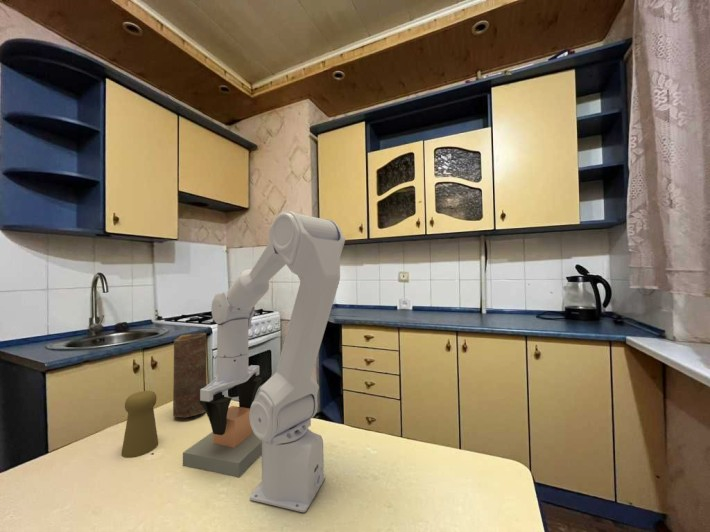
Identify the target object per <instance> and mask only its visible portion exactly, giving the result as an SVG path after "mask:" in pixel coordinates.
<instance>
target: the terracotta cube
mask: <svg viewBox="0 0 710 532" xmlns="http://www.w3.org/2000/svg"><path fill="white" fill-rule="evenodd" d="M249 413H250V408H243V407H239V406H236V405H230V406H229V407H228V412H227V419H226V430H225V433H224V434H223V435H217V434H213V443H214V444H219V445H224V446H228V447H233V448H235V447H236V446H237V445H239V444H240V443H241V442H242V441H244V440H245V439H246V438H248V437H249V436H250V435H251V434H252V428H251V425H250V419H249Z"/></svg>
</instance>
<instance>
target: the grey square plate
mask: <svg viewBox="0 0 710 532" xmlns="http://www.w3.org/2000/svg"><path fill="white" fill-rule="evenodd" d="M260 457H262V440H260V439H259V438H258V437H257V436H256V435H255V434H254V432H253V430H252V434H251V435H250V436H249V437H248V438H246V439H245V440H244V441H242V442H241V443H240V444H239V445H237V446H236V447H235V448H233V447H228V446H224V445H219V444H214V443H213V431H212V432H210V433H208V434H207V435H206V436H205V437H203V438H201V439H200V440H199V441H197V442H196V443H195V444H193V445H192V446H190V447H189V448H187V449H186V450H184V451H183V452H182V467H186V468H190V469H195V470H200V471H205V472H210V473H214V474H220V475H224V476H228V477H233V478H239V479H240V477H241V476H242V475H243V474H244V473H245V472H246V471H247V470H248V469H249V468H250V467H251V466H252V465H253V464H254V463H255V462H256V461H257V460H258V459H259V458H260Z"/></svg>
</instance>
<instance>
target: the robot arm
mask: <svg viewBox="0 0 710 532" xmlns="http://www.w3.org/2000/svg"><path fill="white" fill-rule="evenodd" d="M268 242H269V243H268V244H267V246H266V247H265V249H264V250H263V252H262V253H261V255H260V256H259V258H258V260H257V261H256V263H255V265H253V267H252V269H249V268H248V269H244V270H242V272H240V274H239V276H238V277H237V278H236V279H235V281H234V282H233V283H232V285H231V286H230V287H229V288H228V290H227V291H224V292H221V293H220V292H219V293H216V294H215V295H214V297H213V299H212V302H211V306H210V307H211V316H212V320H213V321H214V322H215V323H216V324H217V326H216V327H217V331H216V332H217V333H216V334H217V335H216V337H217V339H216V340H217V348H216V349H217V351H216V352H217V353H216V354H217V361H216V362H217V363H216V364H217V365H216V366H217V367H216V368H217V370H216V372H217V374H214V375H213V380H212V381H211V382H209V383H208V384H207V386H206V387H204V388H202V389H200V397H199V403H200V404H201V405H202V407H203V408H204V410H205V413H206V415H207V417H208V420H209V423H210V426H211V429H212V432H213V434H217V435H223V434H224V433H225V430H226V419H227V412H228V408H229V407H230V403H231V402H232V397H228V396H225V394H224V392H226V391H228V390H230V389H232V388H234V387H235V388H236V391H237V396H238V407H243V408H250V413H249V419H250V425H251V428H252V430H253V432H254V434H255V435H256V436H257V437H258V438H259V439H260V440H262V455H261V483H259V485H258V486H257V487H256V488H255V489H254V490H253V492H252V493H251V494H250V495H249V499H250V500H251V501H253V502H258V503H262V504H266V505H271V506H275V507H279V508H282V509H288V510H292V511H296V512H301V513H305V512H307V511H308V508H309V507H310V505H311V503H312V502H313V500H314V499H315V497H316V494H317V493H318V491H319V489H320V488H321V486H322V484H323V482H324V480H325V479H326V473H324V470H325V469H324V466H325V465H324V461H325V460H324V459H325V458H324V440H323V437H322V436H321V434H318V433H315V432H313V431H312V430H310V429H309V428H310V427H311V425H312V424H311V423H312V422H311V421H312V420H311V419H313V418H314V417H315V416H316V414H317V411H318V405H319V404H318V393H319V389H320V386H319V384H318V383H317V381H316V379H314V377H313V376H312V375H313V372H314V367H315V364H316V361H317V358H318V355H319V351H320V348H321V345H322V341H323V338H324V334H325V331H326V328H327V324H328V321H329V317H330V315H331V311H332V308H333V304H334V301H335V297H336V294H337V291H338V288H339V284H340V280H341V256H342V252H343V249H344V245H345V242H346V238H345V236H344V234H343V232H342V231H341V228H340V225H339V224H338V223H337V222H336V221H334V220H332V219H329V218H320V217H315V216H312V215H305V214H300V213H296V212H294V211H292V210H284V211H282V212H281V211H280V212H279V214H277V216H276V218H275V219H274V221H273V223H272V225H270V227H269V230H268ZM285 266H287V267H288V269H289V270H290V271H291V273H293V274H295V275H297V277H298V280H299V286H298V289H297V293H296V297H295V300H294V305H293V308H292V312H291V315H290V319H289V324H288V326H287V327H288V328H287V331H286V334H285V337H284V341H283V345H282V349H281V353H280V357H279V360H278V365H277V369H276V371H275V372H274V374H273V375H272V376H271V377H270V378H268V379H267V380H266V382H264V383H263V385H261V384H262V381H263V379H262V377H259V375H260V365H253V364H251V365H249V330H250V329H251V327H252V320H253V317H254V314H255V310H256V309H255V308H256V305H257V304H258V303H259V301H260V300H261V299H262V298H263V297H264V296H265V295H266V294H267V292H269V289H270V282H269V281H270V280H271V279H273V277H274V276H276V274H277V273H278V272H280V270H281V269H282V268H284V267H285ZM256 395H257V396H256Z"/></svg>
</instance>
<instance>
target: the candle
mask: <svg viewBox="0 0 710 532" xmlns="http://www.w3.org/2000/svg"><path fill="white" fill-rule="evenodd" d="M207 378H208V377H207V333H206V332H203V333H193V334H188V333H187V334H182V335H179V337H177V338H175V339H174V340H173V385H172V386H173V390H172V391H173V395H172V398H173V399H172V401H173V402H172V405H173V406H172V410H173V411H172V416H173V417H175V418H190V417H194V416H198V415H201V414H204V413H206V411H205V410H204V408H203V407H202V405H201V404H200V403H199V397H200V389H202V388H204V387H206V386H207V385H208V384H207Z"/></svg>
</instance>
